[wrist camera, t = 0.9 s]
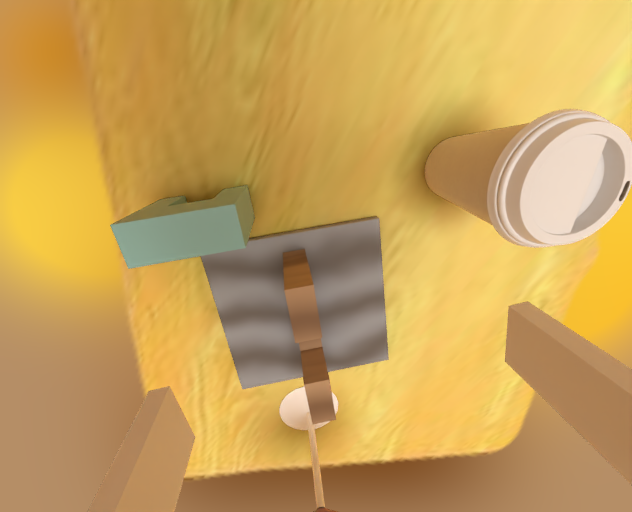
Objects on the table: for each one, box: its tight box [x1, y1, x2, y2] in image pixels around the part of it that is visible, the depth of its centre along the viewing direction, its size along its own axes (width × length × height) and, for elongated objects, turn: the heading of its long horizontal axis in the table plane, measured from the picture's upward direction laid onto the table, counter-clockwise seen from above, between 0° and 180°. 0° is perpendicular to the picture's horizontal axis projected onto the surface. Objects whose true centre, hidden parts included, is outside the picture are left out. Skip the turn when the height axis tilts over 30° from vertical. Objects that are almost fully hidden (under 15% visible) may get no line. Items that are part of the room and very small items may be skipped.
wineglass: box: [280, 386, 338, 512], centre depth 33 cm, size 9×10×23 cm
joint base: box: [201, 216, 389, 425], centre depth 33 cm, size 20×20×10 cm
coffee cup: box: [425, 109, 632, 247], centre depth 26 cm, size 10×10×15 cm
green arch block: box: [110, 185, 255, 269], centre depth 27 cm, size 4×9×10 cm, turn 98°
